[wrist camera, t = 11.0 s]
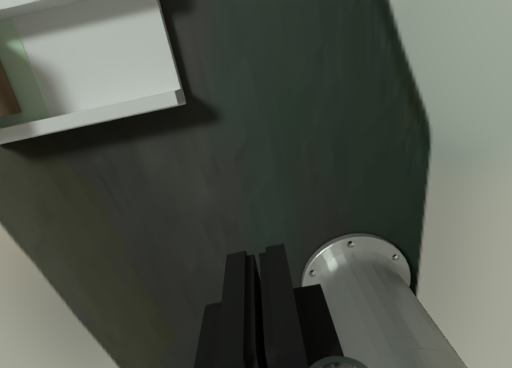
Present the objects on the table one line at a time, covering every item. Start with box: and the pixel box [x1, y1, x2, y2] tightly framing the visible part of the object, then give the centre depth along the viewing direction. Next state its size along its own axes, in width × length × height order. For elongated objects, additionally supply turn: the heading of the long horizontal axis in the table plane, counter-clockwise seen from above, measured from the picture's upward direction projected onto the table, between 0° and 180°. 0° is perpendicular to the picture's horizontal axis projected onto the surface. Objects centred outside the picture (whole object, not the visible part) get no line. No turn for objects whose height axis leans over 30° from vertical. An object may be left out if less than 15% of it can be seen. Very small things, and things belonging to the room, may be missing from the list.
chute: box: [0, 0, 187, 144], centre depth 32 cm, size 20×12×4 cm, turn 102°
